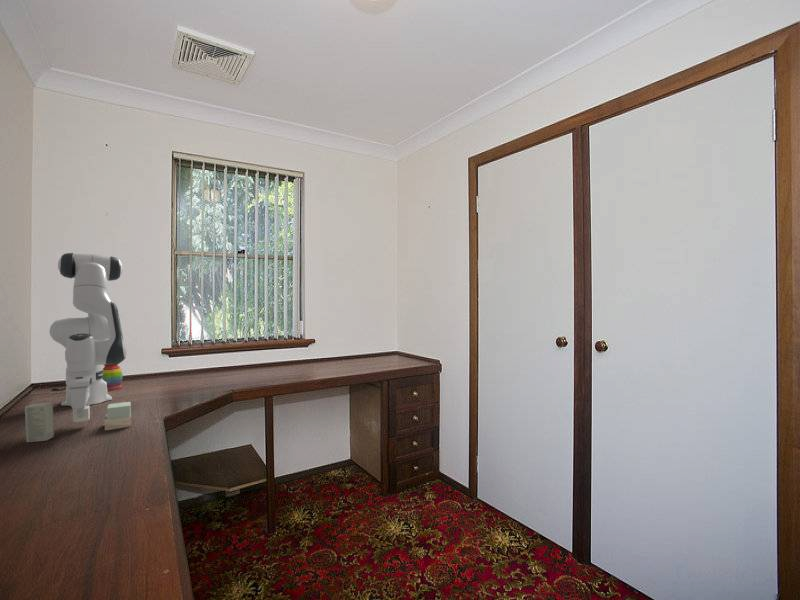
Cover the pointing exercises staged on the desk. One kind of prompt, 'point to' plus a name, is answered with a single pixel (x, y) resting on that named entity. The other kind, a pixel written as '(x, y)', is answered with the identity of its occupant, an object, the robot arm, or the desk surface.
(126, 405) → the green tower middle block
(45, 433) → the skincare box
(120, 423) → the tower base
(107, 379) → the stacking bear
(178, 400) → the desk surface
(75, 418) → the cream block
